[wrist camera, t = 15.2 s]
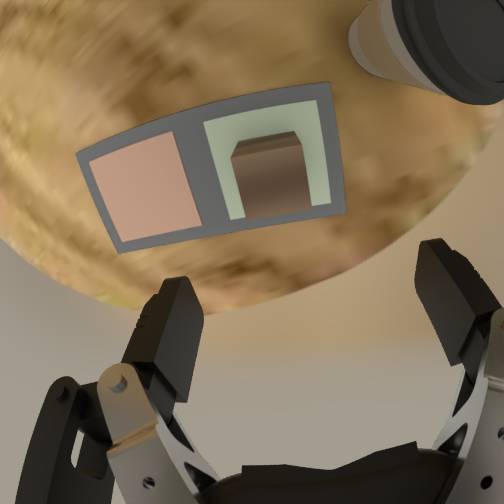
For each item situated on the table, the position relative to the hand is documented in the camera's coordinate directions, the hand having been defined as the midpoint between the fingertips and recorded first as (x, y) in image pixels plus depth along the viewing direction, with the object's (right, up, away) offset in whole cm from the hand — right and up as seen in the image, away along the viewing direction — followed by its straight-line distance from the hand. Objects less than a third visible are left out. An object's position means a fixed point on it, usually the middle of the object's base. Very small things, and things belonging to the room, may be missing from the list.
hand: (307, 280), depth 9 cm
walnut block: (0, +9, +16) cm, 18 cm away
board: (-6, +8, +17) cm, 20 cm away
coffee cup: (+10, +20, +9) cm, 24 cm away
